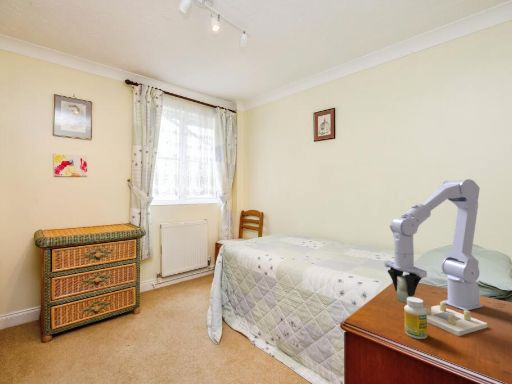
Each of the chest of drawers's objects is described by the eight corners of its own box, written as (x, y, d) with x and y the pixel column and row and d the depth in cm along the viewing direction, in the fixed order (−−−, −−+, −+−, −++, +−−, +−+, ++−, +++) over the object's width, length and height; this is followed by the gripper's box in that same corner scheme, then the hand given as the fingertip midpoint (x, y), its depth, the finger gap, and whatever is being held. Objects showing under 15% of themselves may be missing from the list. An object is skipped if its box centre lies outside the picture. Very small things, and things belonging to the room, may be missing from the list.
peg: (403, 297, 92) (403, 274, 92) (415, 302, 88) (414, 278, 88) (394, 299, 90) (393, 276, 90) (405, 304, 86) (405, 279, 86)
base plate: (438, 308, 89) (438, 297, 89) (487, 327, 76) (487, 314, 76) (411, 314, 84) (411, 303, 84) (458, 336, 71) (458, 322, 71)
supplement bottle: (410, 327, 76) (409, 294, 76) (430, 335, 72) (430, 300, 72) (400, 333, 73) (400, 298, 73) (421, 341, 69) (420, 305, 69)
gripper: (378, 250, 94) (378, 287, 94) (415, 258, 81) (416, 302, 81) (392, 248, 97) (392, 285, 97) (430, 256, 84) (431, 299, 83)
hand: (404, 293), depth 89 cm, fingers closed on peg, 4 cm apart
